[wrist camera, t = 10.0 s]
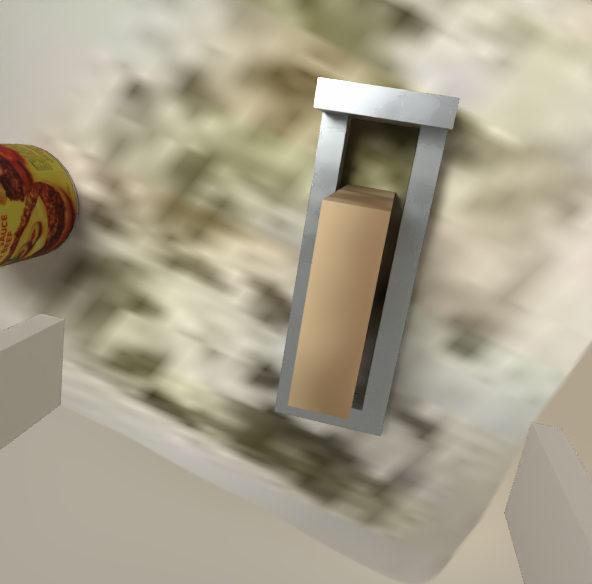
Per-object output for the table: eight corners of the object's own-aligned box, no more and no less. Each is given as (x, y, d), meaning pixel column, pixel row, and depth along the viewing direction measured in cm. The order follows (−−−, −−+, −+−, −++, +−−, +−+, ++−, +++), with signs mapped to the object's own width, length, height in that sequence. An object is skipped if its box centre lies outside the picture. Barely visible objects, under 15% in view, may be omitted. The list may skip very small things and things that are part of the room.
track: (282, 396, 40) (261, 437, 35) (332, 89, 35) (318, 77, 29) (381, 419, 39) (377, 465, 34) (450, 107, 34) (459, 98, 28)
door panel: (322, 330, 39) (287, 405, 27) (348, 183, 36) (322, 199, 25) (365, 339, 38) (348, 419, 27) (395, 192, 36) (390, 211, 24)
